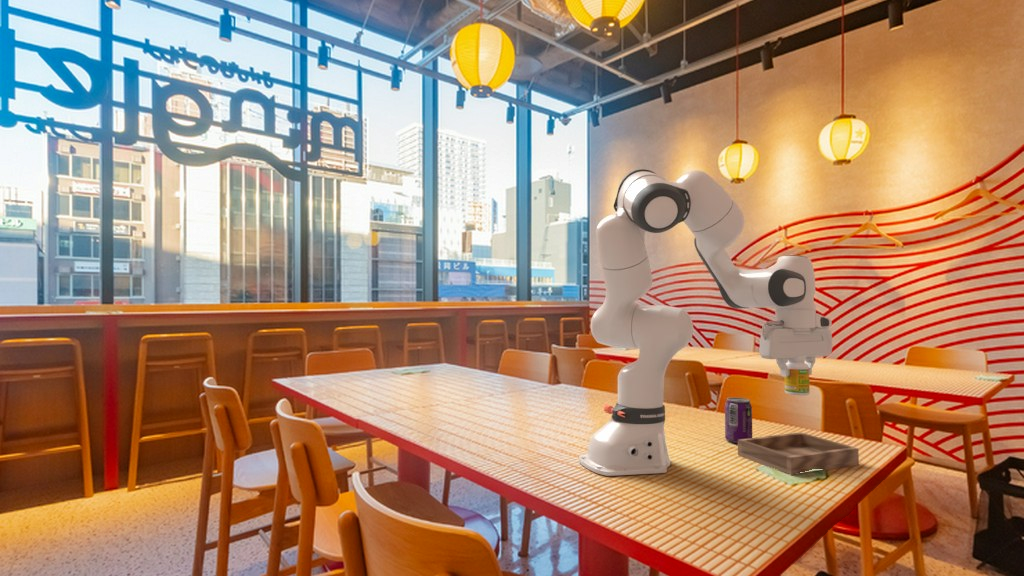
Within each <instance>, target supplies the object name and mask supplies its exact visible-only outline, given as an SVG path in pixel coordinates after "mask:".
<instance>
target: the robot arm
mask: <svg viewBox="0 0 1024 576" xmlns="http://www.w3.org/2000/svg"><path fill="white" fill-rule="evenodd" d="M614 200H615V201H614V204H613V209H614V211H615V212H614V213H612V214H609V215H606V216H605V217H604V218H602V219H600V221H599V222H598V224H597V226H596V230H595V232H596V233H595V234H596V246H597V254H598V260H599V263H600V268H601V271H602V276H603V280H604V287H605V298H604V301H603V303H602V304H601V306H599V308H597V309H596V311H594V313H593V315H592V316H591V319H590V323H589V324H590V331H591V335H592V337H593V338H594V340H595V342H597V343H598V344H601V345H604V346H607V347H611V348H619V349H634V350H635V349H637V350H639V353H638V354H639V355H638V357H637V359H636V360H635V361H633V362H630V363H628V364H627V365H625V366H623V367H622V368H621V369H620V371H619V372H618V375H617V402H616V404H615V406H614V407H613V406H611V405H609V404H605V405H604V407H603V411H604V412H605V413H606V414H608V415H611V419H609V420H608V421H607V422H606V423H605V424H604V425H603V426H601V427H600V428H599V429H598V430H597V431H596V432H595V433H593V434H592V435H591V436H590V439H589V442H588V448H587V453H583V454H580V455H579V456H578V462H579V463H580V465H582V466H583V467H584V468H586V469H587V470H588V471H591V472H593V473H596V474H598V475H602V476H606V477H607V476H608V477H611V476H612V477H613V476H627V475H628V476H630V475H634V476H635V475H649V474H666V473H667V472H668V468H669V467H670V466H671V464H672V463H671V460H670V456H669V451H668V449H667V441H666V435H665V422H666V407H665V405H664V384H665V383H664V382H665V376H666V375H665V374H666V372H667V371H666V370H667V368H668V366H669V364H670V362H671V360H672V359H673V358H674V356H676V354H678V353H679V352H680V351H681V350H682V349H684V348H685V347H686V346H687V345H688V344H689V343H690V342H691V340H692V337H693V335H694V323H693V319H692V317H691V316H690V314H689V313H688V312H687V311H686V310H685V309H684V308H681V307H677V306H676V307H675V306H671V305H664V304H663V305H660V304H658V305H655V304H654V305H652V304H650V305H649V304H647V305H646V304H645V305H641V304H637V303H636V301H637V300H639V299H641V298H643V297H644V296H645V295H646V294H647V293H648V292H649V291H650V290H651V287H652V286H653V281H654V278H653V275H652V271H651V270H652V269H651V265H650V261H649V256H648V251H647V248H646V243H645V241H646V240H645V238H646V237H645V235H646V232H648V233H651V234H659V233H665V232H666V231H669V230H672V229H673V228H674V227H675V226H677V225H678V224H680V223H682V222H683V223H684V224H685V225H686V226H687V228H688V230H690V232H692V234H693V236H694V240H693V243H694V247H695V250H696V252H697V255H698V256H699V258H700V260H701V261H702V263H703V264H704V266H705V268H706V269H707V270H708V272H709V274H710V276H711V277H712V278H713V279H714V282H715V283H716V284H717V287H718V290H719V293H720V295H721V298H722V300H723V301H724V302H725V304H726V305H728V306H729V307H730V308H733V309H736V310H739V309H749V308H751V309H752V308H756V309H758V308H760V309H765V308H767V309H768V308H772V309H773V308H775V309H774V311H775V312H774V313H775V318H774V319H775V320H774V321H773V320H768V321H766V323H764V324H763V325H762V328H761V334H760V338H759V339H760V340H759V352H758V353H759V355H760V357H761V358H762V359H767V360H776V364H777V366H778V368H779V369H780V376H781V377H789V376H791V370H790V369H788V367H787V365H786V363H788V358H798V357H799V356H803V355H805V361H804V363H805V364H807V365H808V366H809V376H812V375H813V370H812V369H813V368H814V364H815V363H816V358H817V357H819V358H820V357H829V356H831V354H832V351H833V335H832V331H831V329H830V328H831V327H832V325H833V323H832V319H831V318H829V317H826V316H825V315H822V314H820V313H816V312H817V311H816V309H817V308H816V304H815V301H814V299H815V294H816V279H815V278H816V277H815V269H814V265H813V263H812V260H811V259H810V258H808V257H807V256H803V255H794V254H787V255H782V256H779V257H777V259H776V262H775V263H774V264H773V265H771V266H769V267H767V268H761V269H760V268H759V269H743V268H740V267H737V266H736V265H735V264H734V262H733V261H732V259H731V257H730V256H729V254H728V252H727V250H726V249H728V248H729V247H731V246H732V245H733V244H734V243H735V242H736V241H737V240H738V238H739V237H740V235H741V234H742V232H743V229H744V227H745V226H744V223H745V217H744V214H743V211H742V210H741V208H740V206H739V205H738V204H737V203H736V201H735V200H734V198H732V196H731V195H730V194H729V193H728V191H726V189H725V188H723V186H722V185H720V183H718V181H716V180H715V179H714V178H713V177H711V176H710V175H709V174H708V173H706V172H704V171H702V170H692V171H689V172H686V173H684V174H683V175H682V174H681V176H680V177H678V179H676V180H674V181H668V180H666V179H665V177H663V176H662V175H659V174H657V173H656V172H654V171H652V170H649V169H645V168H644V169H643V168H642V169H634V170H632V171H629V172H628V173H627V174H626V175H624V177H623V178H622V180H621V181H620V183H619V185H618V189H617V192H616V197H615V199H614Z"/></svg>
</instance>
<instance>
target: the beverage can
mask: <svg viewBox="0 0 1024 576" xmlns="http://www.w3.org/2000/svg"><path fill="white" fill-rule="evenodd" d="M724 423H725V424H724V438H725V439H726V440H728V441H729V442H730V443H733V444H737V445H738V440H739V439H748V438H753V406H752V404H751V400H750V399H748V398H743V397H727V398H726V402H725V404H724Z"/></svg>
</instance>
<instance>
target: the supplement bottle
mask: <svg viewBox="0 0 1024 576" xmlns="http://www.w3.org/2000/svg"><path fill="white" fill-rule="evenodd" d="M786 365H787V367H788V369H790V370H791V376H789V377H784V393H785V394H787V395H793V396H808V395H810V375H809V366H808V365H807V364H805V355H803V356H799V357H798V358H788V363H786Z"/></svg>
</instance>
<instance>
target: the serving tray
mask: <svg viewBox="0 0 1024 576" xmlns="http://www.w3.org/2000/svg"><path fill="white" fill-rule="evenodd" d="M737 455H738V456H739V457H742V458H744V459H747V460H750V461H752V462H755V463H758V464H760V465H764V466H766V467H768V466H769V468H771V467H772V468H771V469H773V468H775V469H774V470H776V469H778V470H777V471H779V470H780V471H779V472H781V471H783V472H782V473H784V472H786V473H785V474H787V473H788V474H787V475H789V474H791V475H790V476H794V475H793V474H796V473H800V472H805V471H809V470H812V469H823V470H822V471H827V470H834V469H841V468H847V467H854V466H859V465H860V463H859V461H860V458H859V447H858V448H857V447H855V446H851V445H849V444H848V445H847V444H844V443H840V442H837V441H833V440H829V439H825V438H821V437H818V436H815V435H812V434H808V433H804V432H801V431H800V432H794V433H785V434H776V435H767V436H760V437H758V436H757V437H752V438H748V439H739V440H738V444H737ZM796 475H797V474H796Z"/></svg>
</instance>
